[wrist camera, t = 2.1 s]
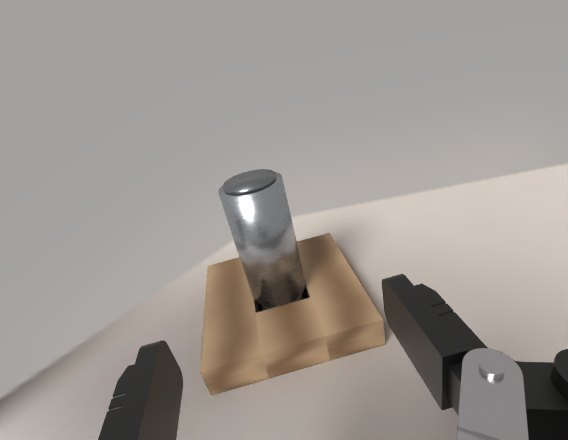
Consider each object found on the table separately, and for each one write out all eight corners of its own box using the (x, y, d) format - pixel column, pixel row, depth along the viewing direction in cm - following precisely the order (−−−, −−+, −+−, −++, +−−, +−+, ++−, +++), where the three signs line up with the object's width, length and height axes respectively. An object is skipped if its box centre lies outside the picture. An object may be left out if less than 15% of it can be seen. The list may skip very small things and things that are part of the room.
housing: (211, 395, 29) (200, 372, 27) (215, 284, 43) (207, 265, 42) (385, 344, 30) (383, 319, 28) (332, 252, 44) (329, 233, 42)
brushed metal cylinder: (261, 335, 34) (216, 200, 27) (256, 299, 39) (217, 177, 32) (316, 320, 34) (286, 182, 27) (304, 285, 39) (276, 162, 32)
